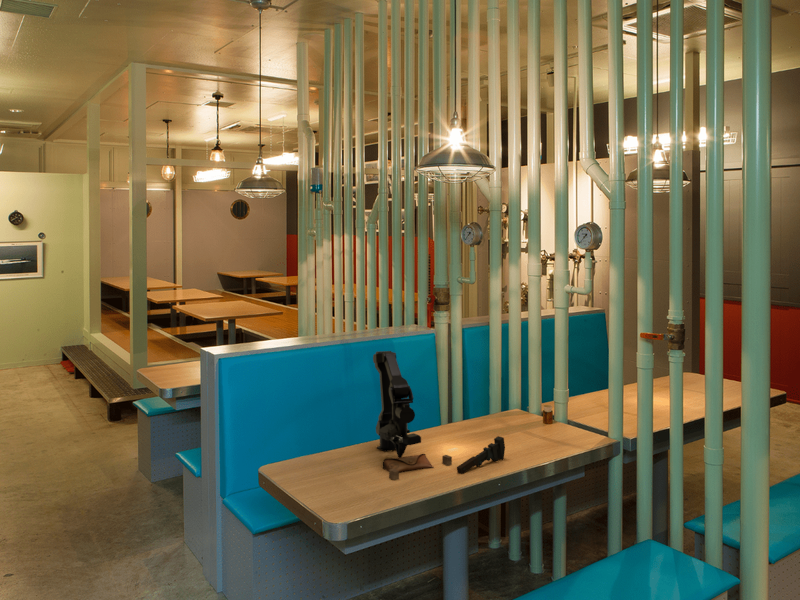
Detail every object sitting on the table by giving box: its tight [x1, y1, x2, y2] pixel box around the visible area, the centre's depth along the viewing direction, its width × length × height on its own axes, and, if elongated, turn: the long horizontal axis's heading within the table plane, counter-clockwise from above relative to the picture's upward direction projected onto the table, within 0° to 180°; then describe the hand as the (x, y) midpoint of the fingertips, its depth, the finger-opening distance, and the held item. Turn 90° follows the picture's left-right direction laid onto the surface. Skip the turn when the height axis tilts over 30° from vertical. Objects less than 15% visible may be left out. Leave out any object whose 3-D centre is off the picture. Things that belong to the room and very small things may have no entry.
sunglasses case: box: [382, 453, 435, 474], centre depth 240 cm, size 18×7×7 cm, turn 116°
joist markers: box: [388, 454, 453, 481], centre depth 235 cm, size 3×27×3 cm, turn 128°
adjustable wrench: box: [456, 436, 506, 475], centre depth 242 cm, size 8×3×25 cm
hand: (399, 457), depth 244 cm, fingers closed
